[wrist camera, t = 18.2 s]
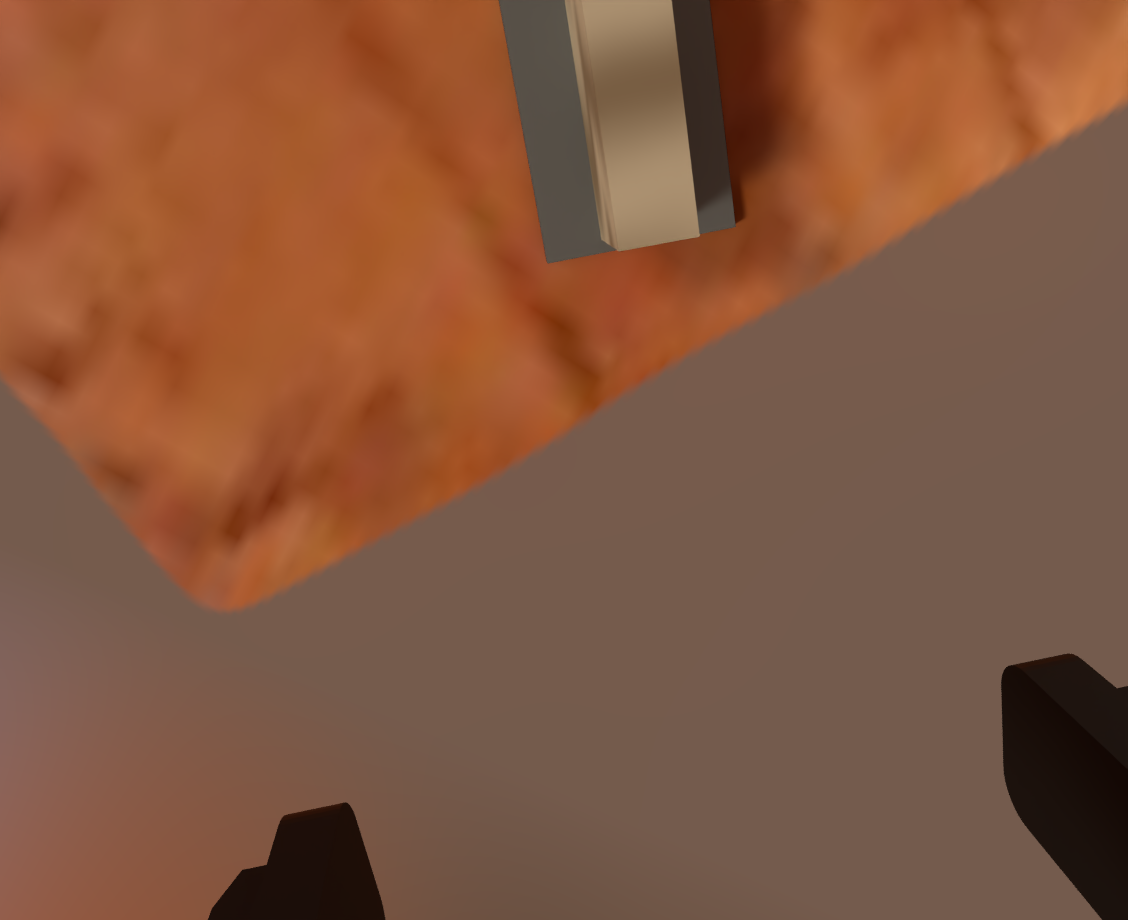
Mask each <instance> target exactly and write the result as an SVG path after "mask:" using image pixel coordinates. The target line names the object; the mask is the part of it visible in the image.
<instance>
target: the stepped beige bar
mask: <svg viewBox="0 0 1128 920" xmlns="http://www.w3.org/2000/svg"><path fill="white" fill-rule="evenodd" d="M565 6H566V12H567V19H568V25H569V32H570V38H571V45H572V51H573V58H574V64H575V71H576V77H577V84H578V90H579V97H580V103H581V110H582V116H583V123H584V129H585V136H586V142H587V149H588V155H589V162H590V169H591V175H592V182H593V188H594V195H595V201H596V208H597V214H598V221H599V227H600V234H601V240H603V241H604V242H606V243H607V244H609V245H610V246H612V247H613V248H615V249H616V250H618V251H624V250H629V249H635V248H640V247H645V246H651V245H656V244H662V243H667V242H672V241H678V240H683V239H689V238H694V237H700V234H699V226H698V217H697V209H696V201H695V192H694V184H693V175H692V167H691V159H690V150H689V142H688V133H687V125H686V117H685V108H684V100H683V91H682V83H681V75H680V66H679V58H678V50H677V41H676V33H675V24H674V16H673V8H672V0H565Z"/></svg>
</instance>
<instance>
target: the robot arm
mask: <svg viewBox="0 0 1128 920" xmlns="http://www.w3.org/2000/svg"><path fill="white" fill-rule="evenodd" d="M1001 690H1002V691H1001V692H1002V727H1003V766H1004V776H1005V782H1006V786H1007V789H1008V792H1009V795H1010V798H1011V801H1012V803H1013V805H1014V807H1015V810H1016V811H1017V813H1018V815H1019V817H1020V818H1021V820H1022V822H1023V823H1024V824H1025V826H1026V827H1027V828H1028V829H1029V831H1030V832H1031V833H1032V834H1033V836H1034V837H1035V838H1036V839H1037V841H1038V842H1039V843H1040V844H1041V846H1042V847H1043V848H1044V849H1045V850H1046V852H1047V853H1048V854H1049V855H1050V856H1051V858H1052V859H1053V860H1054V861H1055V863H1056V864H1057V865H1058V866H1059V868H1060V869H1061V870H1062V871H1063V872H1064V874H1065V875H1066V876H1067V877H1068V878H1069V880H1070V881H1071V882H1072V883H1073V885H1075V887H1076V888H1077V890H1078V891H1079V892H1080V893H1081V894H1082V896H1083V897H1084V898H1085V899H1086V901H1087V902H1088V903H1089V904H1090V905H1091V907H1092V908H1093V909H1094V910H1095V912H1096V913H1097V914H1098V915H1099V916H1100V918H1101V919H1102V920H1128V686H1126V687H1122V688H1116V687H1114V686H1113V685H1112V684H1111V683H1110V682H1108V681H1107V680H1106V679H1105V678H1104V677H1102V676H1101V675H1100V674H1099V673H1098V672H1096V671H1095V670H1094V669H1093V668H1092V667H1090V666H1089V665H1088V664H1087V663H1086V662H1084V661H1083V660H1082V659H1080V658H1079V657H1078V656H1075V655H1074V654H1063V655H1058V656H1054V657H1049V658H1044V659H1039V660H1034V661H1030V662H1025V663H1020V664H1016V665H1011V666H1008V667H1006V668H1005V670H1004V672H1003V674H1002V680H1001ZM208 920H385V915H384V910H383V905H382V901H381V897H380V894H379V891H378V888H377V885H376V881H375V878H374V875H373V872H372V868H371V865H370V862H369V859H368V856H367V852H366V849H365V846H364V843H363V840H362V837H361V833H360V830H359V827H358V824H357V820H356V817H355V814H354V812H353V810H352V808H351V806H350V805H349V804H348V803H340V804H336V805H331V806H326V807H321V808H316V809H312V810H307V811H303V812H297V813H292V814H288V815H285V816H283V818H282V819H281V821H280V824H279V826H278V829H277V832H276V836H275V839H274V842H273V846H272V849H271V852H270V856H269V859H268V862H267V865H264V866H259V867H255V868H250V869H245V870H242V871H241V872H240V874H239V875H238V876H237V877H236V879H235V880H234V881H233V882H232V884H231V885H230V886H229V888H228V889H227V890H226V891H225V893H224V894H223V895H222V896H221V898H220V899H219V900H218V902H217V903H216V904H215V905H214V907H213V908H212V910H211V913H210V915H209V918H208Z"/></svg>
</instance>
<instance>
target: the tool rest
mask: <svg viewBox="0 0 1128 920" xmlns="http://www.w3.org/2000/svg"><path fill="white" fill-rule="evenodd" d="M499 4H500V9H501V15H502V20H503V26H504V31H505V37H506V42H507V48H508V53H509V59H510V64H511V69H512V75H513V80H514V86H515V91H516V97H517V102H518V108H519V113H520V118H521V124H522V129H523V135H524V140H525V146H526V151H527V157H528V162H529V168H530V173H531V178H532V184H533V189H534V195H535V200H536V206H537V211H538V217H539V222H540V228H541V233H542V238H543V244H544V249H545V255H546V260H547V263H553V262H558V261H563V260H568V259H573V258H578V257H584V256H589V255H594V254H599V253H604V252H609V251H615V250H616V249H615V248H613V247H612V246H610V245H609V244H607V243H606V242H604V241H603V240H601V234H600V227H599V221H598V214H597V208H596V201H595V195H594V188H593V182H592V175H591V169H590V162H589V155H588V149H587V142H586V136H585V129H584V123H583V116H582V110H581V103H580V97H579V90H578V84H577V77H576V71H575V64H574V58H573V51H572V45H571V38H570V32H569V25H568V19H567V12H566V6H565V0H499ZM672 8H673V16H674V24H675V33H676V41H677V50H678V58H679V66H680V75H681V83H682V91H683V100H684V108H685V117H686V125H687V133H688V142H689V150H690V159H691V167H692V175H693V184H694V192H695V201H696V209H697V217H698V226H699V234H702V233H707V232H712V231H718V230H723V229H728V228H733V227H736V226H735V217H734V209H733V200H732V191H731V183H730V174H729V165H728V157H727V148H726V139H725V131H724V122H723V113H722V105H721V96H720V87H719V79H718V70H717V61H716V53H715V44H714V35H713V27H712V18H711V9H710V1H709V0H672Z"/></svg>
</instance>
